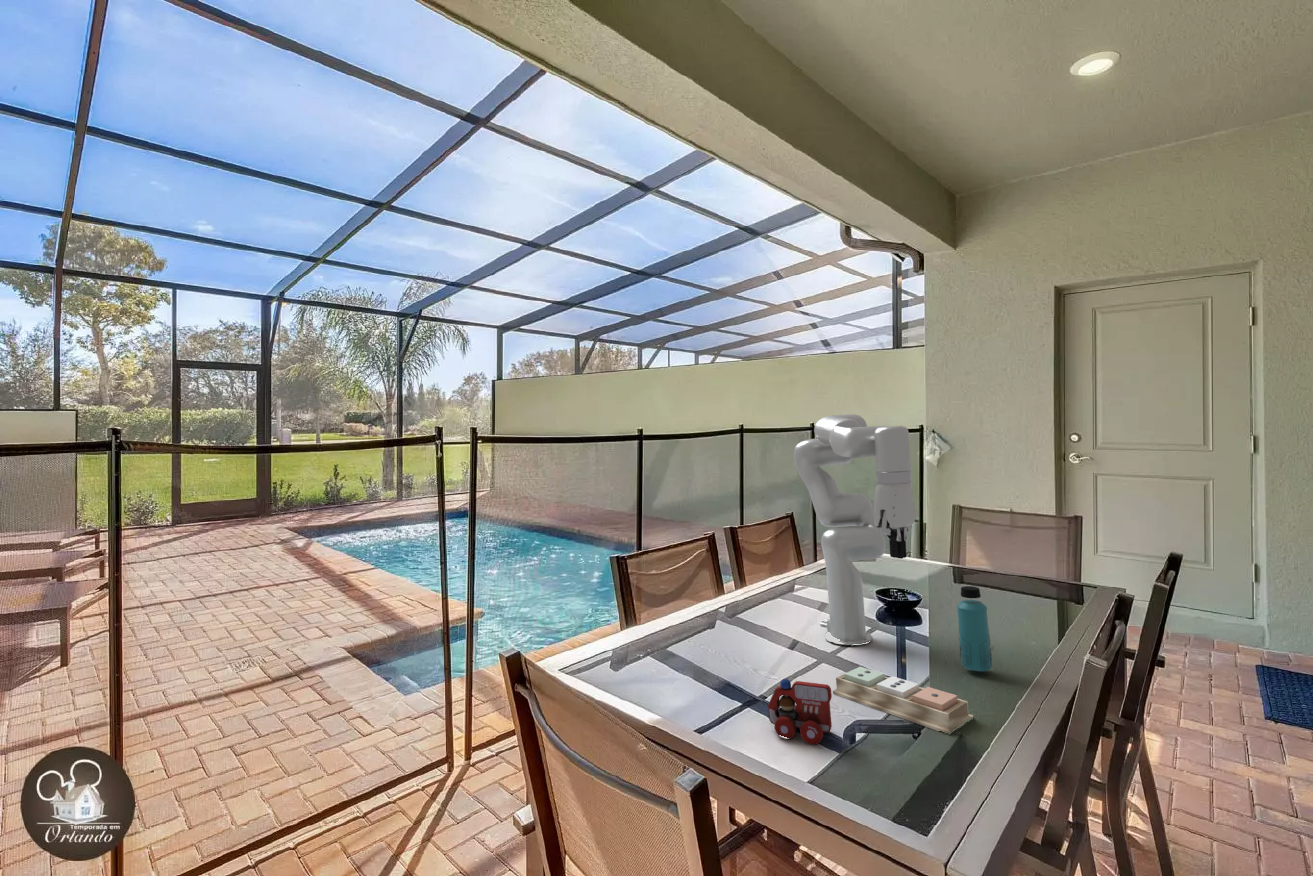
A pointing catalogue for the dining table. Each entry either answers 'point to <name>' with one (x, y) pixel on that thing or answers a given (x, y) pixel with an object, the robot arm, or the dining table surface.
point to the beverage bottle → (974, 631)
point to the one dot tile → (935, 699)
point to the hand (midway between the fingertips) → (898, 557)
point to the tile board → (904, 706)
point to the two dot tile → (864, 676)
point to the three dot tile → (898, 687)
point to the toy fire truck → (801, 710)
